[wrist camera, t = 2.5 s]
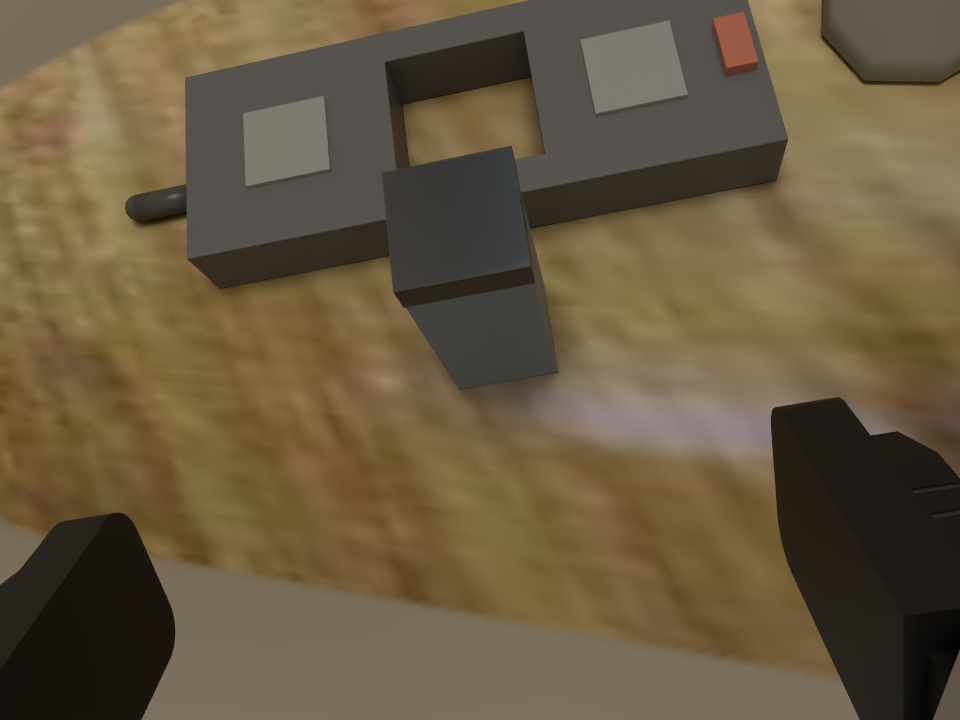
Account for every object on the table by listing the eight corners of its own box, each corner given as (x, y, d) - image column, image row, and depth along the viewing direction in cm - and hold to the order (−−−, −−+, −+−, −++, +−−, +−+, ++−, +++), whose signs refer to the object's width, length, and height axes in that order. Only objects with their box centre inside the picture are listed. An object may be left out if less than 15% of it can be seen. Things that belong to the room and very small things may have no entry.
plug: (544, 279, 36) (511, 145, 27) (559, 373, 34) (531, 266, 25) (447, 298, 36) (381, 172, 27) (458, 390, 35) (393, 292, 26)
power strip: (727, 5, 39) (735, -56, 35) (776, 180, 36) (790, 131, 32) (135, 134, 42) (92, 90, 39) (132, 305, 39) (86, 272, 36)
